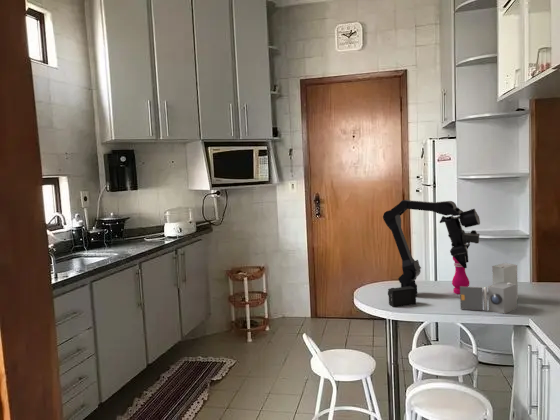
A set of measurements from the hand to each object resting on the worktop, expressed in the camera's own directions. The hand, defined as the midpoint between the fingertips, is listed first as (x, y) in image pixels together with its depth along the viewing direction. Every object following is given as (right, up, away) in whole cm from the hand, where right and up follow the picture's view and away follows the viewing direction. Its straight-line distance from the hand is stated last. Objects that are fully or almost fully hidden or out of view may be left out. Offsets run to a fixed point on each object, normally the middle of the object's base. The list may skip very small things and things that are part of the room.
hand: (466, 265), depth 193 cm
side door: (-3, -15, -15) cm, 22 cm away
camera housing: (+8, -15, -16) cm, 23 cm away
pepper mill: (+2, -14, +12) cm, 18 cm away
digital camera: (-27, -17, -1) cm, 32 cm away
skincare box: (+15, -14, -4) cm, 21 cm away
